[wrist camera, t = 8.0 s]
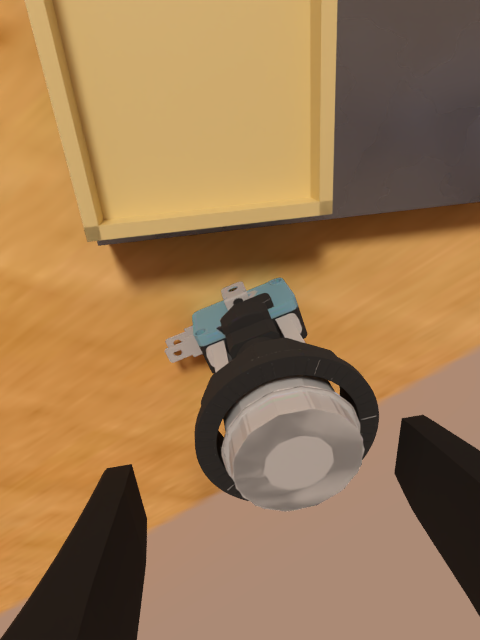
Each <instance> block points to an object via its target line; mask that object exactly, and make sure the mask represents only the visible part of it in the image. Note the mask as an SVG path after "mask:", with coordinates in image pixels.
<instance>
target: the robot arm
mask: <svg viewBox="0 0 480 640" xmlns="http://www.w3.org/2000/svg"><path fill="white" fill-rule="evenodd" d="M395 475H396V477H397V480H398V482H399V484H400V486H401V488H402V490H403V492H404V494H405V496H406V498H407V500H408V502H409V504H410V506H411V508H412V510H413V512H414V513H415V515H416V517H417V518H418V520H419V521H420V523H421V524H422V526H423V528H424V529H425V531H426V532H427V534H428V536H429V537H430V539H431V540H432V542H433V543H434V545H435V546H436V548H437V550H438V551H439V553H440V554H441V555H442V557H443V559H444V560H445V562H446V563H447V565H448V566H449V568H450V570H451V571H452V573H453V574H454V576H455V577H456V579H457V580H458V582H459V584H460V585H461V587H462V588H463V590H464V591H465V593H466V594H467V596H468V598H469V599H470V601H471V603H472V604H473V606H474V608H475V609H476V611H477V613H478V614H479V616H480V451H479V450H478V449H476V448H475V447H473V446H472V445H470V444H468V443H467V442H465V441H464V440H462V439H461V438H459V437H457V436H456V435H454V434H453V433H451V432H450V431H448V430H446V429H445V428H443V427H442V426H440V425H439V424H437V423H436V422H434V421H432V420H431V419H429V418H428V417H426V416H424V415H419V416H413V417H408V418H402V421H401V428H400V436H399V444H398V451H397V458H396V466H395ZM146 545H147V517H146V514H145V510H144V506H143V503H142V499H141V496H140V492H139V489H138V485H137V482H136V478H135V474H134V471H133V467H132V464H130V465H124V466H118V467H112V468H107V469H106V470H105V471H104V473H103V475H102V477H101V478H100V480H99V482H98V484H97V486H96V488H95V490H94V492H93V494H92V496H91V497H90V499H89V501H88V503H87V505H86V506H85V508H84V510H83V512H82V514H81V515H80V517H79V519H78V521H77V522H76V524H75V526H74V528H73V529H72V531H71V533H70V534H69V536H68V538H67V539H66V541H65V543H64V544H63V546H62V548H61V549H60V551H59V553H58V554H57V556H56V558H55V559H54V561H53V562H52V564H51V565H50V567H49V569H48V570H47V572H46V573H45V575H44V576H43V578H42V579H41V581H40V582H39V584H38V585H37V587H36V588H35V590H34V591H33V593H32V595H31V596H30V598H29V599H28V601H27V602H26V604H25V605H24V606H23V608H22V609H21V611H20V613H19V614H18V615H17V617H16V618H15V619H14V621H13V622H12V624H11V625H10V627H9V628H8V629H7V631H6V632H5V634H4V635H3V636H2V638H1V639H0V640H137V632H138V625H139V617H140V609H141V601H142V592H143V584H144V576H145V567H146V547H147V546H146Z"/></svg>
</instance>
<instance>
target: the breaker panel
mask: <svg viewBox="0 0 480 640" xmlns="http://www.w3.org/2000/svg"><path fill="white" fill-rule="evenodd" d="M473 202H480V0H337V41H336V82H335V123H334V165H333V206H332V214H328V215H319V216H310V217H302V218H293V219H284V220H275V221H266V222H258V223H249V224H240V225H231V226H223V227H214V228H205V229H196V230H187V231H179V232H170V233H161V234H152V235H143V236H135V237H126V238H117V239H108V240H99V241H97V243H98V246H99V245H108V244H117V243H125V242H134V241H143V240H152V239H160V238H169V237H178V236H186V235H195V234H204V233H212V232H221V231H230V230H238V229H247V228H256V227H265V226H273V225H282V224H291V223H299V222H308V221H317V220H325V219H334V218H343V217H352V216H360V215H369V214H378V213H386V212H395V211H404V210H412V209H421V208H430V207H439V206H447V205H456V204H465V203H473Z"/></svg>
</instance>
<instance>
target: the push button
mask: <svg viewBox="0 0 480 640" xmlns="http://www.w3.org/2000/svg"><path fill="white" fill-rule="evenodd" d="M232 288H237V289H236V290H234V291H231V292H228V291H229V290H230V289H232ZM221 292H222V296H223V299H224V300H223V301H221V302H218V303H216V304H214V305H211V306H209V307H206V308H204V309H201V310H199V311H197V312H195V313H194V314H193V315H192V320H193V326H190V327H188V328H185V329H184V330H185V332H183V333H181V334H178V335H176V336H173V337H171V338H168V339H166V344H167V346H168V348H166V349H165V353H166V354H167V356H168V358H169V360H170V362H176V361H178V360H181V359H183V358H186V357H188V356H191V355H193V356H194V357H196V356H198V355H201V354H203V355H204V357H205V359H206V361H207V363H208V365H209V367H210V369H211V371H212V373H215V374H213V375H212V377H211V378H210V381H209V383H208V385H207V388H206V390H205V393H204V395H203V398H202V400H201V408H200V411H199V414H198V416H197V420H196V424H195V450H196V455H197V459H198V462H199V464H200V466H201V468H202V470H203V472H204V473H205V475H206V476H207V477H208V479H209V480H210V481H211V482H212V483H213V484H215V485H216V486H217V487H218V488H220V489H221V490H223V491H224V492H226V493H228V494H230V495H232V496H235V497H237V498H240V499H243V500H247V501H251V502H252V503H253V504H254V505H256V506H260V507H261V508H264V509H272V510H280V511H292V510H298V509H302V508H306V507H311V506H315V505H318V504H320V503H322V502H323V501H325V500H327V499H329V498H330V497H332V496H334V495H336V494H337V493H339V492H341V491H342V490H343V489H344V488H345V487H346V485H347V484H348V483H349V482H350V481H351V479H352V478H353V477H354V476H355V475H356V474H357V472H358V470H359V467H360V466H361V465H362V460H363V458H364V457H365V455H366V454H367V452H368V451H369V449H370V447H371V445H372V443H373V441H374V439H375V436H376V432H377V429H378V422H379V411H378V404H377V400H376V397H375V395H374V393H373V391H372V389H371V387H370V386H369V384H368V383H367V382H366V380H365V379H364V378H363V377H362V375H361V374H360V373H359V372H358V371H357V370H356V369H355V368H354V367H353V366H351V365H350V364H349V363H347V362H346V361H344V360H342V359H340V358H338V357H337V356H336V355H335V354H334V353H333V352H332V351H330V350H327V349H324V348H320V347H317V346H313V345H310V344H307V343H305V341H304V340H303V339H304V338H306V336H307V331H306V328H305V325H304V322H303V319H302V316H301V313H300V310H299V307H298V304H297V301H296V298H295V295H294V294H293V292H292V291H291V289H290V288H289V287H288V285H287V284H286V283H285V281H284V280H283V278H276V279H273V280H271V281H268V283H265V284H263V285H260V286H258V287H255V288H253V289H250V290H248V291H246V289H245V287H244V284H243V282H237V283H235V284H232V285H230V286H227V287H225V288H223V289H222V290H221ZM175 340H181V343H178V344H176V345H174V341H175ZM179 350H181V351H182V354H181V355H179V356H176V355H174V352H177V351H179ZM328 380H329V381H332V382H334V383H335V384H337V385H339V386H340V395H338V394H337V393H335V391H334V389H333V388H332V386H331V384H330V383H329V381H328ZM222 419H223V420H224V425H225V431H226V434H225V438H224V437H223V436H222V435H221V433H220V432H219V431H218V429H219V426H220V424H221V421H222Z"/></svg>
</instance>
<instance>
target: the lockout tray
mask: <svg viewBox="0 0 480 640" xmlns="http://www.w3.org/2000/svg"><path fill="white" fill-rule="evenodd" d="M25 4H26V8H27V12H28V15H29V19H30V23H31V27H32V31H33V35H34V38H35V42H36V46H37V50H38V54H39V58H40V61H41V65H42V69H43V73H44V77H45V81H46V85H47V88H48V92H49V96H50V100H51V104H52V108H53V111H54V115H55V119H56V123H57V127H58V131H59V134H60V138H61V142H62V146H63V150H64V154H65V158H66V161H67V165H68V169H69V173H70V177H71V181H72V184H73V188H74V192H75V196H76V200H77V204H78V207H79V211H80V215H81V219H82V223H83V227H84V231H85V234H86V238H87V242H91V241H99V240H108V239H117V238H126V237H135V236H143V235H152V234H161V233H170V232H179V231H187V230H196V229H205V228H214V227H223V226H231V225H240V224H249V223H258V222H266V221H275V220H284V219H293V218H302V217H310V216H319V215H328V214H332V206H333V165H334V123H335V82H336V41H337V0H25Z"/></svg>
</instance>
